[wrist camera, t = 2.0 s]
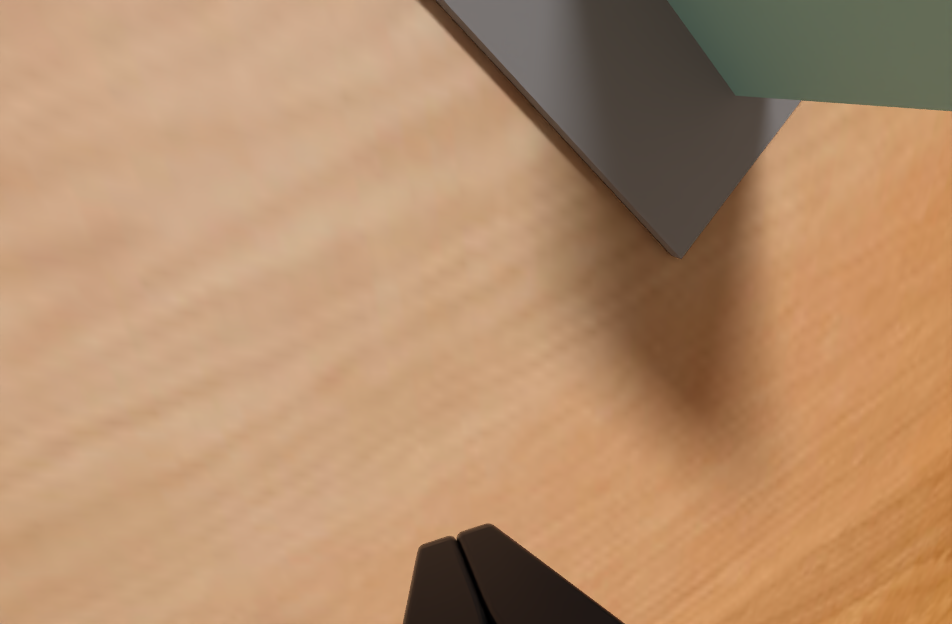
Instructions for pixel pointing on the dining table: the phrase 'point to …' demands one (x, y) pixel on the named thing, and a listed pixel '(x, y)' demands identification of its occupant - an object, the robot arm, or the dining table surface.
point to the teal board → (829, 49)
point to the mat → (630, 101)
